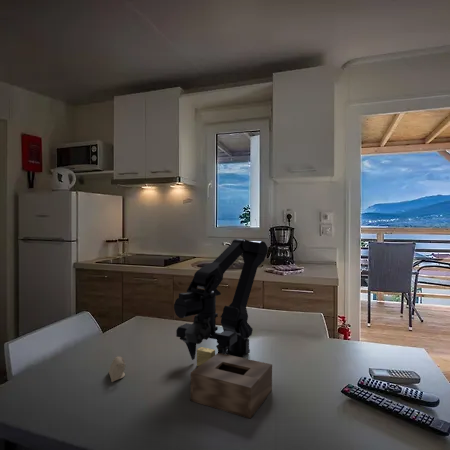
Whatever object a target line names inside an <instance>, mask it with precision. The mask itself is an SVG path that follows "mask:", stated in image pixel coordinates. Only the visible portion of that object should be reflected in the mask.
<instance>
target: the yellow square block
mask: <svg viewBox="0 0 450 450" xmlns="http://www.w3.org/2000/svg"><path fill="white" fill-rule="evenodd" d="M214 355H216V349H213V348H210V347H209V348H208V347H203V346H201V347H198V348H196V366H197V367H199V366H200V365H202V364H203V363H205V362H206V361H207V360H209V359H210V358H212V357H213V356H214Z"/></svg>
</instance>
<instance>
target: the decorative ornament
mask: <svg viewBox="0 0 450 450" xmlns="http://www.w3.org/2000/svg"><path fill="white" fill-rule="evenodd" d="M126 365H127V364H126V362H125V359H124V358H123V357H122V356H115V357H114V359H113V360H112V362H111V364H110V366H109V369H108V370H109V371H108V374H109V377H110V381H111V383H113V382H115V381H119V380H120V379H123V378H124V377H125V376H126V374H125V372H124V371H125V370H126V369H125V368H126Z"/></svg>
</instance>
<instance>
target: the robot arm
mask: <svg viewBox="0 0 450 450" xmlns="http://www.w3.org/2000/svg"><path fill="white" fill-rule="evenodd" d="M268 247H269V246H268V245H267V244H266V242H265V241H260V240H247V239H245V238H235V239H233V240H232V241H231V244H229V245H228V246H227V248H226V249H224V251H222V252H221V254H220V255H219V256H217V257H216V258H215V259H214V260H213V261H212V262H210V263H209V264H206V265H204V266H202V267H200V268H199V269H198V270H196V271H195V272H194V274H193V279H192V280H191V282H190V284H189V285H188V287H187V289H186V292H181V293H178V298H176V299H175V302H174V304H173V309H174V313H175V314H176V316H177V318H179V319H183V318H184V319H185V318H188V317H192V316H194V318H193V321H192V323H184V324H182V325H180V326H178V327H177V328H176V330H175V332H176V333H175V337H177V338H179V340H181V341H183V342H184V343H185V345H186V347H187V350H188V352H189V356H190V358H191V360H192V361H194V360H195V358H196V355H197V345H199V344H201V343H202V342H203V340H206V341H207V340H208V339H212V340H216V343H217V345H216V346H215V348H216V349H217V353H221V354H226V355H231V356H235V357H240V358H244V356H245V355H247V354H248V353H249V352H250V351H251V350H250V339H249V338H250V337H251V336H252V335H253V327H252V326H251V325H250V323H248V318H249V315H248V309H247V305H248V301H249V298H250V295H251V292H252V288H253V284H254V281H255V277H256V274H257V270H258V267H260V265H261V264H262V263H264V261H265V260H266V256H267V255H268V252H269V248H268ZM241 256H242V261H243V264H242V265H243V266H242V268H241V270H240V271H241V272H240V274H239V278H238V282H237V284H236V288H235V291H234V295H233V298H232V301H231V303H229V305H224V307H223V310H222V313H221V315H220V324H221V327H222V330H223V331H222V332H217V331H218V326H216V324H217V323H216V319H217V318H218V316H219V315H218V314H219V313H217V312H216V311H217V310H216V307H217V306H216V305H217V304H216V302H217V300H216V299H217V298H216V297H217V296H221V294H222V293H221V292H220V291H219V290H218V287H219V286H220V284H221V283H222V282H223V279H224V274H225V272H226V271H227V270H228V269H229V268H230V267H231V266H232V265H233V264H234V263H235V262H236V261H237V260H238V259H239V258H240V257H241Z"/></svg>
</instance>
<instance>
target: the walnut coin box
mask: <svg viewBox="0 0 450 450" xmlns="http://www.w3.org/2000/svg"><path fill="white" fill-rule="evenodd" d="M272 391H273V364H271V363H267V362H264V361H258V360H254V359H249V358H245V357H239V356H234V355H229V354H221V353H218V352H217V353H215V355H214V356H213V357H212V358H210V359H209V360H207V361H206V362H205V363H203V364H202V365H200V366H197V367H196V368H195V369H194V370H192V371H191V372H190V401H191V402H194V403H197V404H200V405H203V406H206V407H207V406H208V407H210V408H213V409H217V410H220V411H223V412H227V413H230V414H233V415H237V416H239V417H242V418H246V419H252V418H253V416H254V415H255V414H256V413H257V411H259V409H260V408H261V406H262V405H263V403H264V402H265V401H266V400H267V398H268V397H269V395H270V394H271V393H272Z"/></svg>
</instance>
